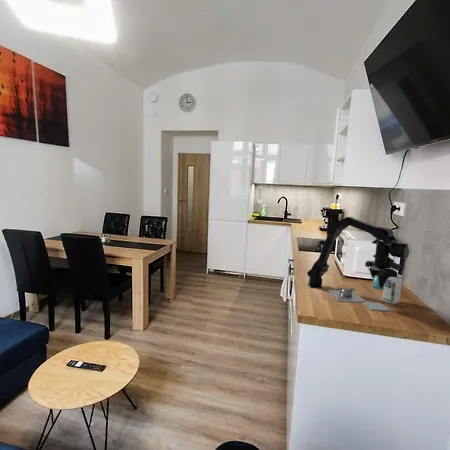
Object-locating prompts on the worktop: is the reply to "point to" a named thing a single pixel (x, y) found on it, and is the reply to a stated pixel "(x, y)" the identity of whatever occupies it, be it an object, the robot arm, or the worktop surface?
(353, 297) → the grey square plate
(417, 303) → the worktop surface
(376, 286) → the teal cylinder
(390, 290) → the syrup box
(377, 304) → the coaster
